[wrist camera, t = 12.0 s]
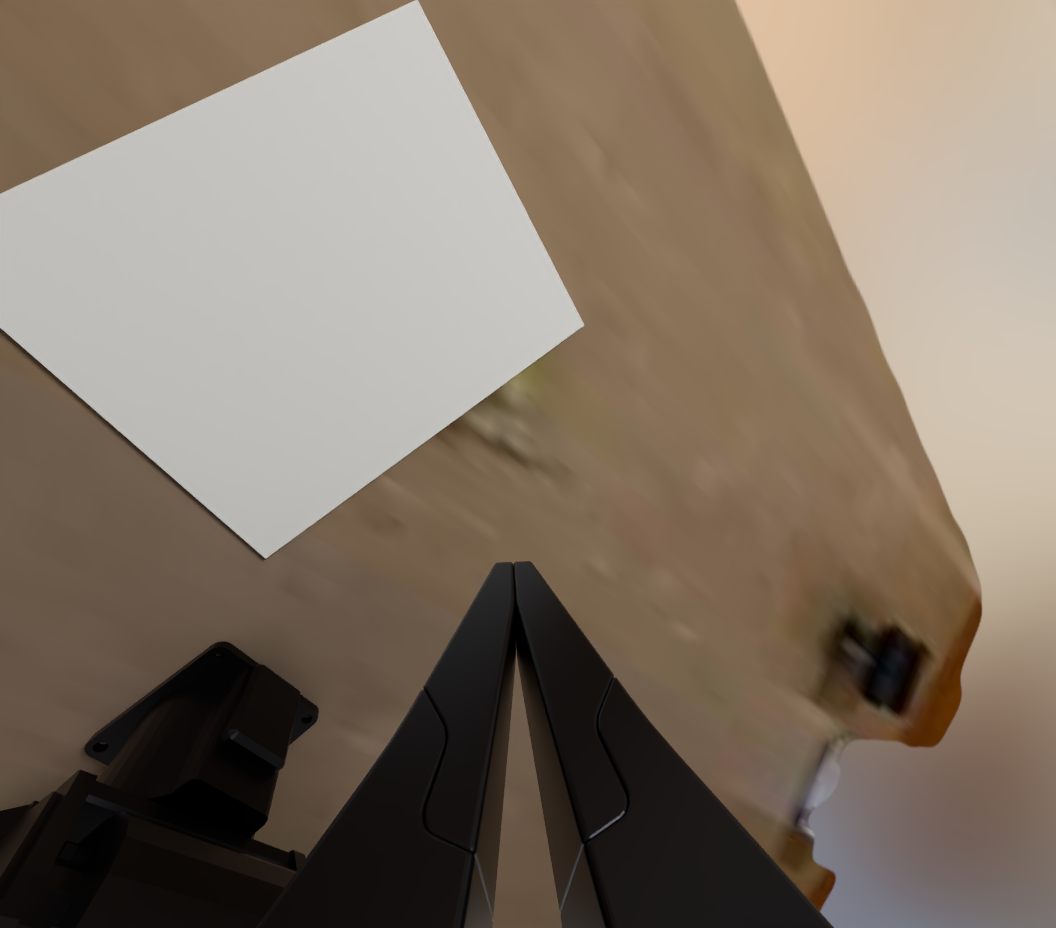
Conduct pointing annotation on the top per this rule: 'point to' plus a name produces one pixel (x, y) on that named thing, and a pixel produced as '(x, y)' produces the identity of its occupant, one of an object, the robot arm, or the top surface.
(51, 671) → the top surface
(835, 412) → the top surface
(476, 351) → the rubber mat
